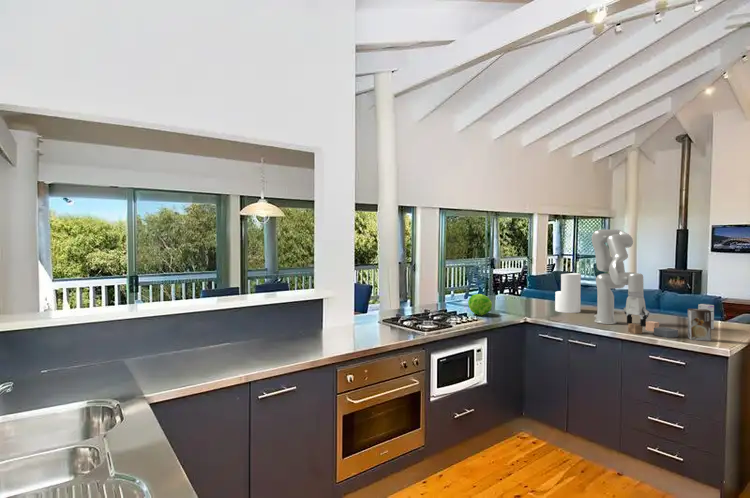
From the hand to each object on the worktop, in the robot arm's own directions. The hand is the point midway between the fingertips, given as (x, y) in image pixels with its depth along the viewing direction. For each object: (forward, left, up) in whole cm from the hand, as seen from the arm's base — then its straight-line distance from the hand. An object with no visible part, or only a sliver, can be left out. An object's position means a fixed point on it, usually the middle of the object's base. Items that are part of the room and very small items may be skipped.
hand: (636, 324), depth 254 cm
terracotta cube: (-4, +15, -5) cm, 16 cm away
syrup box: (0, +50, -5) cm, 50 cm away
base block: (+10, +11, -5) cm, 15 cm away
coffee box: (+21, +20, -5) cm, 30 cm away
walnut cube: (-1, 0, -5) cm, 5 cm away
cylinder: (-76, +12, -5) cm, 77 cm away
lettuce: (-79, -58, -5) cm, 98 cm away
